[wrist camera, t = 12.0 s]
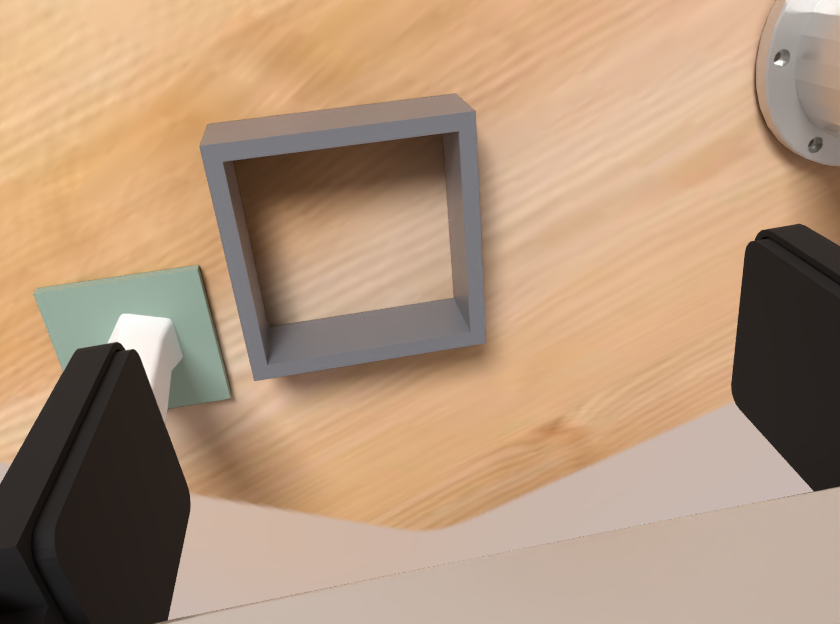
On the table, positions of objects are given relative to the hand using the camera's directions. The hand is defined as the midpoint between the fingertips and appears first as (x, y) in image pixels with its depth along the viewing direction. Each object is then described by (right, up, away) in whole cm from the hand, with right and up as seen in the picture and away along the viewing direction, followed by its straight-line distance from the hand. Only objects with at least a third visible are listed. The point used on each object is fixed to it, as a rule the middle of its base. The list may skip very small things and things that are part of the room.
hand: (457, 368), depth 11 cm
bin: (-4, +5, +26) cm, 27 cm away
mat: (-16, -1, +27) cm, 32 cm away
